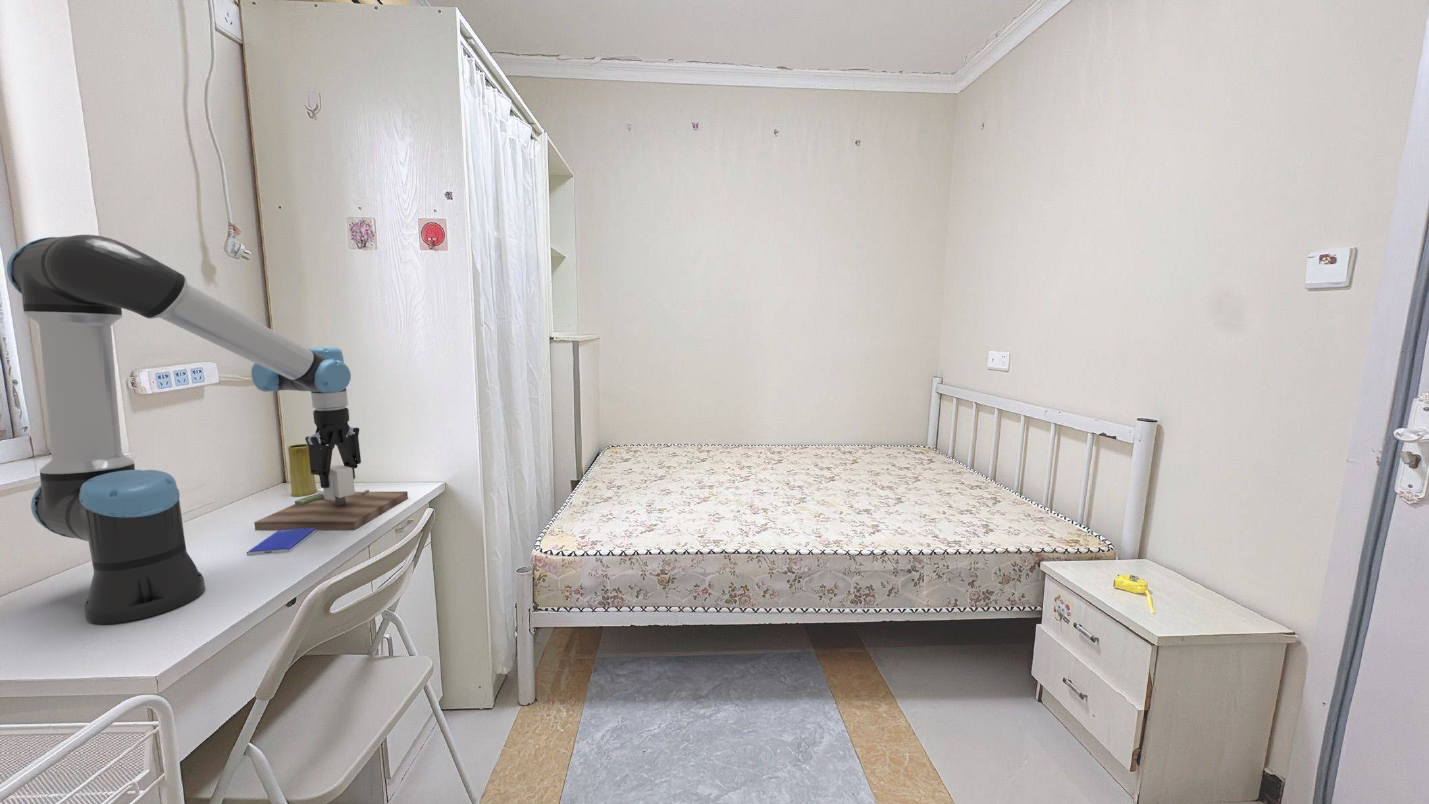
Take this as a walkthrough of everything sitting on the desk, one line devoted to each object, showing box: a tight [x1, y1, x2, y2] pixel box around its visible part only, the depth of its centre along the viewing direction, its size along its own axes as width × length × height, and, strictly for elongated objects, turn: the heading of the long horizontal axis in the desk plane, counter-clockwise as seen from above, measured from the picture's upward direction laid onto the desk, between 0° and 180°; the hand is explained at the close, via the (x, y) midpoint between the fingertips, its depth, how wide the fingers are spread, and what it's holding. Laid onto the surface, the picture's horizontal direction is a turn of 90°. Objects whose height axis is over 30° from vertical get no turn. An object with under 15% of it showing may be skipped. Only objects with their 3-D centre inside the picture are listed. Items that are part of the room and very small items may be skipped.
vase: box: [287, 443, 318, 497], centre depth 163 cm, size 6×6×14 cm
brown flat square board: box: [253, 489, 409, 531], centre depth 147 cm, size 24×24×3 cm
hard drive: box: [246, 528, 317, 556], centre depth 128 cm, size 2×8×12 cm
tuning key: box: [316, 463, 355, 506], centre depth 148 cm, size 16×4×10 cm, turn 57°
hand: (339, 495), depth 147 cm, fingers open, 5 cm apart
